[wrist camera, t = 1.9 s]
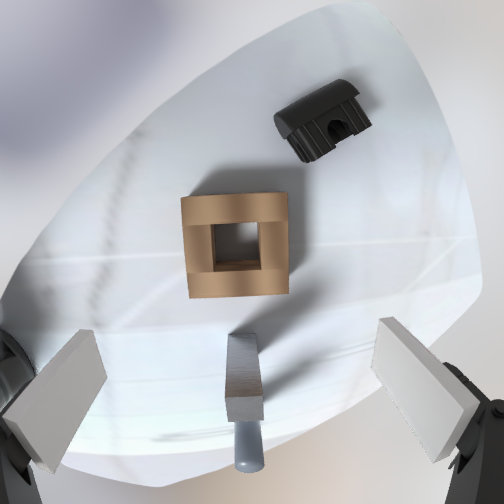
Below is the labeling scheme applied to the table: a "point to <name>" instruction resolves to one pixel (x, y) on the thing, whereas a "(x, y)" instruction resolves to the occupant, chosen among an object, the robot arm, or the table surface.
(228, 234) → the table surface
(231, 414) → the square peg
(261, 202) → the socket block
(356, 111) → the end cap
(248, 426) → the round peg
